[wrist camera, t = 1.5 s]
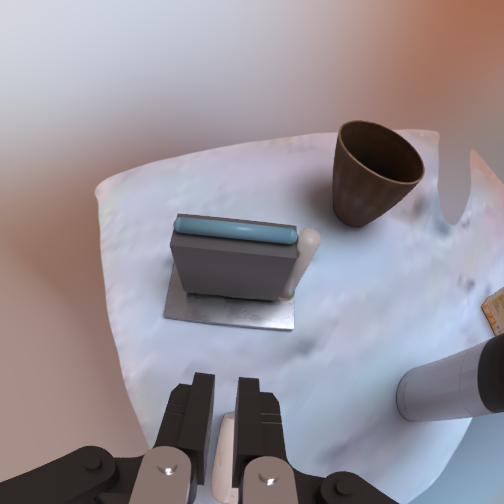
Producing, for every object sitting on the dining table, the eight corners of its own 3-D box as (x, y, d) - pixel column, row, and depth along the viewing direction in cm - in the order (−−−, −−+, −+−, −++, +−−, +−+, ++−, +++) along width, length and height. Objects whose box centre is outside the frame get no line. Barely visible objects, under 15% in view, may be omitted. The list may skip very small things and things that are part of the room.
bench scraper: (292, 278, 42) (321, 219, 29) (292, 304, 40) (324, 252, 27) (189, 267, 41) (176, 204, 29) (184, 293, 39) (167, 236, 27)
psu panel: (292, 263, 45) (294, 258, 44) (291, 331, 39) (294, 328, 38) (178, 251, 44) (177, 246, 43) (165, 317, 39) (163, 314, 37)
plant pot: (306, 228, 49) (334, 159, 35) (319, 173, 56) (342, 109, 42) (383, 255, 47) (430, 198, 34) (384, 197, 55) (418, 141, 41)
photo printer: (244, 481, 28) (253, 513, 17) (211, 477, 28) (206, 507, 17) (255, 413, 33) (270, 418, 22) (223, 408, 33) (222, 411, 22)
